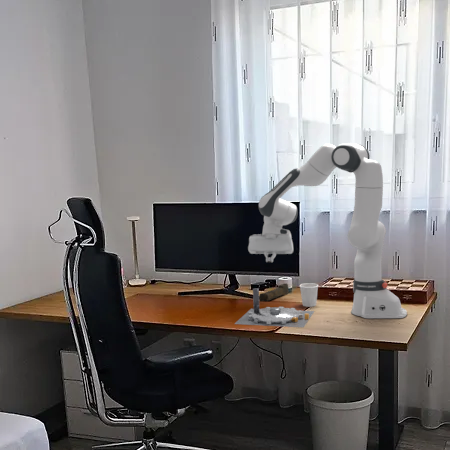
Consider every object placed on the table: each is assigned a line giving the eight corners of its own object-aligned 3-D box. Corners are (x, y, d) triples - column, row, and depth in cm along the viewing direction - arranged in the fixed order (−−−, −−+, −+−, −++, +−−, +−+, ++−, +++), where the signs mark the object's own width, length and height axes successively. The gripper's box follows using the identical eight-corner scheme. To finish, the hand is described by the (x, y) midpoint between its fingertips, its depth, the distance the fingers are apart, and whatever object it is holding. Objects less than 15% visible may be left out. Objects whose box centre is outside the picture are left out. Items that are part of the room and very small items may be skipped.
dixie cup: (317, 304, 263) (316, 282, 262) (320, 309, 255) (319, 286, 254) (298, 305, 263) (298, 283, 262) (301, 309, 255) (300, 287, 254)
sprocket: (307, 311, 247) (307, 284, 246) (297, 325, 226) (296, 296, 225) (256, 309, 254) (255, 283, 253) (241, 323, 233) (240, 294, 232)
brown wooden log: (267, 303, 269) (267, 292, 269) (258, 302, 272) (258, 290, 272) (293, 294, 287) (293, 283, 286) (285, 293, 290) (285, 282, 289)
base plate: (314, 313, 248) (314, 306, 247) (303, 329, 224) (303, 322, 224) (251, 310, 256) (250, 304, 256) (234, 326, 233) (233, 319, 232)
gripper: (248, 231, 265) (245, 258, 259) (292, 230, 260) (290, 258, 253) (251, 237, 270) (248, 264, 264) (294, 237, 265) (292, 264, 259)
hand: (269, 261), depth 259 cm, fingers closed
